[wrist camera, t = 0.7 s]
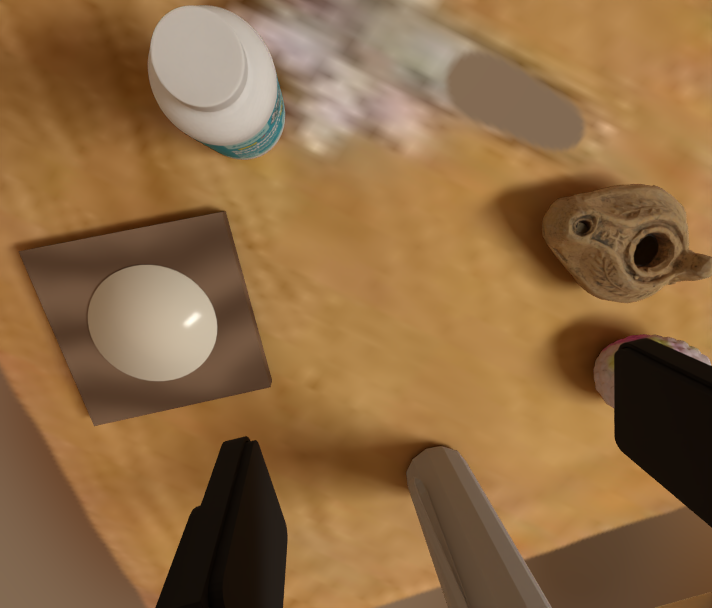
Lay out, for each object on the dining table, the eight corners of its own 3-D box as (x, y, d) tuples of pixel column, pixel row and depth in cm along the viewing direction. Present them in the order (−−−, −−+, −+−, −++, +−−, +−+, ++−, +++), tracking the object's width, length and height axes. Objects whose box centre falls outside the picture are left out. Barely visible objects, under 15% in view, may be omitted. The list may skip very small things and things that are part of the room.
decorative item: (703, 435, 41) (744, 445, 33) (583, 409, 46) (591, 411, 38) (710, 351, 42) (752, 339, 34) (593, 335, 48) (603, 320, 39)
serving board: (31, 249, 34) (16, 251, 32) (225, 211, 35) (221, 212, 33) (102, 417, 38) (93, 427, 37) (271, 380, 39) (270, 388, 38)
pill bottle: (257, 178, 34) (223, 165, 21) (179, 125, 33) (91, 76, 20) (303, 103, 33) (297, 41, 20) (225, 43, 31) (164, -66, 18)
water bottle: (479, 459, 45) (674, 760, 21) (437, 507, 46) (574, 845, 22) (419, 420, 42) (559, 707, 18) (376, 472, 44) (454, 806, 20)
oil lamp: (533, 174, 37) (592, 167, 29) (672, 192, 39) (761, 191, 31) (509, 286, 40) (557, 307, 32) (640, 298, 42) (714, 320, 34)
